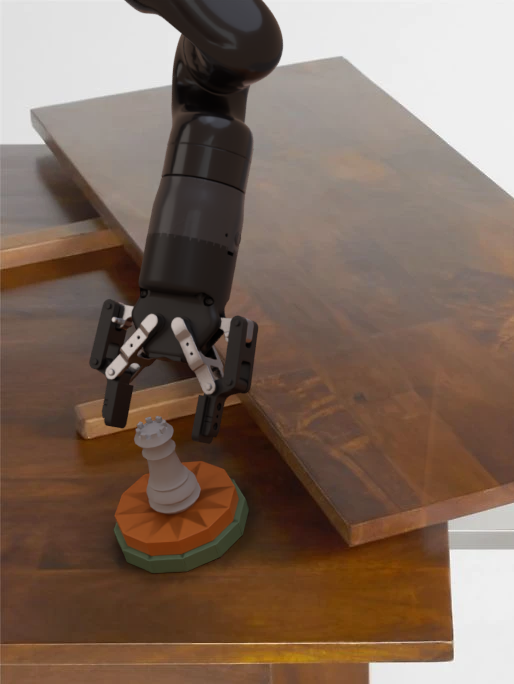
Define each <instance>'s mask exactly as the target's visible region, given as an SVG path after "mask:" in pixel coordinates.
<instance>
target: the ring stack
mask: <svg viewBox="0 0 514 684" xmlns="http://www.w3.org/2000/svg"><path fill="white" fill-rule="evenodd" d="M181 463H182V465H184V466H185V467H187V469H188V470H190V471H191V472H193V474H194V475H195V477H196V479H197V482H198V483H199V486H200V489H201V490H200V494H199V497H198V499H197V501H196V502H195V503H194V504H193V506H191V507H190V508H188V509H187V510H185V511H183V512H180V513H177V514H163V513H160V512H157V511H156V510H154V509H153V508H152V507H150V503H149V498H148V496H147V486H148V480H149V477H150V472H147V473H145V474H143V475H141V477H140V478H138V479H137V480H136V481H135V482H134V483H133V484H132V485H131V486H129V487H128V488H127V489H126V490H125V491H123V493H121V496H120V499H119V502H118V503H117V508H116V510H115V513H114V518H115V521H116V522H115V524H114V528H112V529H113V530H112V531H113V533H114V536H115V538H116V541H117V543H118V545H119V547H120V550H121V551H122V553H123V556H124V558H125V562H127V563H128V564H130V565H133V566H135V567H137V568H139V569H142V570H144V571H147V572H149V573H151V574H163V573H164V574H165V573H166V574H167V573H182V572H190V571H192V570H194V569H196V568H199V567H200V566H203V565H205V564H207V563H210V562H213V561H214V560H218V559H220V558H221V557H222V556H223V555H224V554H225V553H226V552H227V551H228V550H229V549H230V548H231V547H232V546H233V545H234V544H235V543H236V542H237V541H238V540H239V539H240V538H241V537H242V536H244V531H245V528H246V523H247V519H248V515H249V512H250V509H249V505H248V501H247V499H246V497H245V496H244V494H243V492H242V491H241V489H240V487H239V486H238V484H237V483H236V480H235V479H234V478H231V477H230V476H229V474H228V472H227V471H226V469H225V468H221V467H219V466H217V465H215V464H211V463H209V462H206V461H202V460H198V461H197V460H196V461H185V462H183V461H182V462H181Z"/></svg>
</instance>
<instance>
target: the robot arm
mask: <svg viewBox="0 0 514 684" xmlns="http://www.w3.org/2000/svg"><path fill="white" fill-rule="evenodd" d="M123 1H124V2H125V3H126V4H128V5H129V6H130V7H131V8H132V9H134V10H135V11H137V12H138V13H142V14H147V15H157V16H159V17H160V18H162V19H163V20H164V21H166V22H167V23H168V24H169V25H170V26H172V27H173V28H174V29H175V30H176V31H177V32H179V34H180V36H179V38H178V42H177V45H176V48H175V52H174V57H173V64H172V75H171V104H170V105H171V107H170V108H171V129H170V133H169V136H168V140H167V144H166V150H165V155H164V161H163V166H162V171H161V178H160V181H159V185H158V187H157V191H156V194H155V196H154V200H153V203H152V208H151V213H150V218H149V224H148V227H147V228H148V229H147V234H146V238H145V244H144V250H143V254H142V261H141V266H140V271H139V277H138V287H139V297H138V299H137V301H136V303H135V304H134V305H129V304H127V303H123V302H121V301H117V300H115V299H114V300H113V299H111V298H107V299H106V300H105V301H104V302H103V303H102V306H101V311H100V316H99V319H98V324H97V328H96V333H95V336H94V340H93V344H92V348H91V353H90V356H89V362H88V364H89V367H90V368H91V369H92V370H96V371H97V372H99V373H101V374H102V375H104V377H105V378H106V387H105V392H104V397H103V404H102V408H101V416H102V418H103V419H104V420H103V423H104V425H105V426H106V427H111V428H117V429H122V430H123V429H125V428H126V426H127V424H128V418H129V413H130V407H131V402H132V397H133V393H134V392H133V391H134V387H135V386H134V385H133V384H131V383H132V382H133V381H134V380H135V379H136V378H137V377H138V376H139V375H140V374H141V373H142V371H144V369H145V368H149V367H150V366H151V365H153V364H154V363H155V361H156V360H158V361H162V362H167V363H173V362H177V363H180V364H182V365H188V367H189V369H191V371H192V372H193V373H194V374H195V376H196V378H197V381H198V384H199V385H200V389H201V390H202V392H203V395H202V394H198V397H197V402H196V408H195V414H194V420H193V425H192V430H191V440H192V441H193V442H194V443H195V442H196V443H202V444H205V445H207V444H208V445H210V444H212V442H213V441H214V438H217V437H218V436H219V433H220V431H221V424H222V419H223V415H224V414H223V413H224V410H225V409H224V407H225V403H226V400H227V399H228V398H229V397H231V396H234V395H237V394H248V393H249V392H250V390H251V388H252V381H253V372H254V366H255V357H256V349H257V341H258V334H259V324H258V323H257V322H256V321H255V320H252V319H250V318H249V317H245V316H241V315H234V316H233V317H226V306H227V304H228V302H229V301H230V298H231V292H232V288H233V283H234V282H233V281H234V277H235V271H236V266H237V261H238V256H239V251H240V250H239V249H240V244H241V242H242V233H243V227H244V221H245V220H244V218H245V203H246V202H245V201H246V193H247V187H248V182H249V176H250V171H251V166H252V161H253V155H254V142H255V141H254V134H253V131H252V130H251V128H250V127H249V126H248V124H246V114H247V104H248V96H249V93H250V88H251V86H252V85H254V84H256V83H258V82H260V81H262V80H264V79H265V78H267V77H268V76H269V75H271V74H272V73H273V72H274V70H275V69H276V68H277V67H278V65H279V64H280V62H281V59H282V56H283V52H284V39H283V38H284V37H283V33H282V29H281V27H280V24H279V22H278V20H277V18H276V17H275V15H274V13H273V12H272V10H271V9H270V7H269V6H268V5H267V4H266V2H264V0H123ZM133 326H134V329H135V331H134V333H132V334H131V336H129V338H128V339H127V340H126V335H127V332H128V330H129V329H130V328H132V327H133ZM223 336H224V340H225V341H226V343H227V346H226V352H225V353H226V354H225V362H224V364H223V362H222V360H221V357H220V355H219V353H218V351H217V348H216V346H215V345H216V344H217V342H218V341H219V340H220V339H221V338H222V337H223ZM125 340H126V341H125Z"/></svg>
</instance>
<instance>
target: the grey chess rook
mask: <svg viewBox="0 0 514 684" xmlns="http://www.w3.org/2000/svg"><path fill="white" fill-rule="evenodd" d="M154 418H155V419H154V420H153V418H152V416H147V417H145V418H144V420H145V423H144V422H143V421H139V422H138V423H137V424H136V427H137V428H135V434H134V438H133V440H134V444H135V445H137V446H138V447H139V448H141V449H142V451H141V455H142V457H143V458H144V459H146V462H147V466H148V467H147V468H148V471H149V472H148V473H150V477H149V480H148V486H147V496H148V498H149V503H150V507H152V508H153V509H154V510H156V511H157V512H160V513H163V514H177V513H180V512H183V511H185V510H187V509H188V508H190V507H191V506H193V504H194V503H195V502H196V501H197V499H198V497H199V494H200V490H201V489H200V486H199V483H198V482H197V479H196V477H195V475H194V474H193V472H191V471H190V470H188V469H187V467H185V466H184V465H182V462H181V460H180V458H179V456H178V454H177V453H176V447H177V445H176V442H175V441H174V440H173V439H172V437H173V435H174V431H175V430H174V428H173V427H174V426H173V425H171V424H170V423H168V422H167V421H166V419H165V418H164V419H163V417H162V416H160V415H155V417H154Z"/></svg>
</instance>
